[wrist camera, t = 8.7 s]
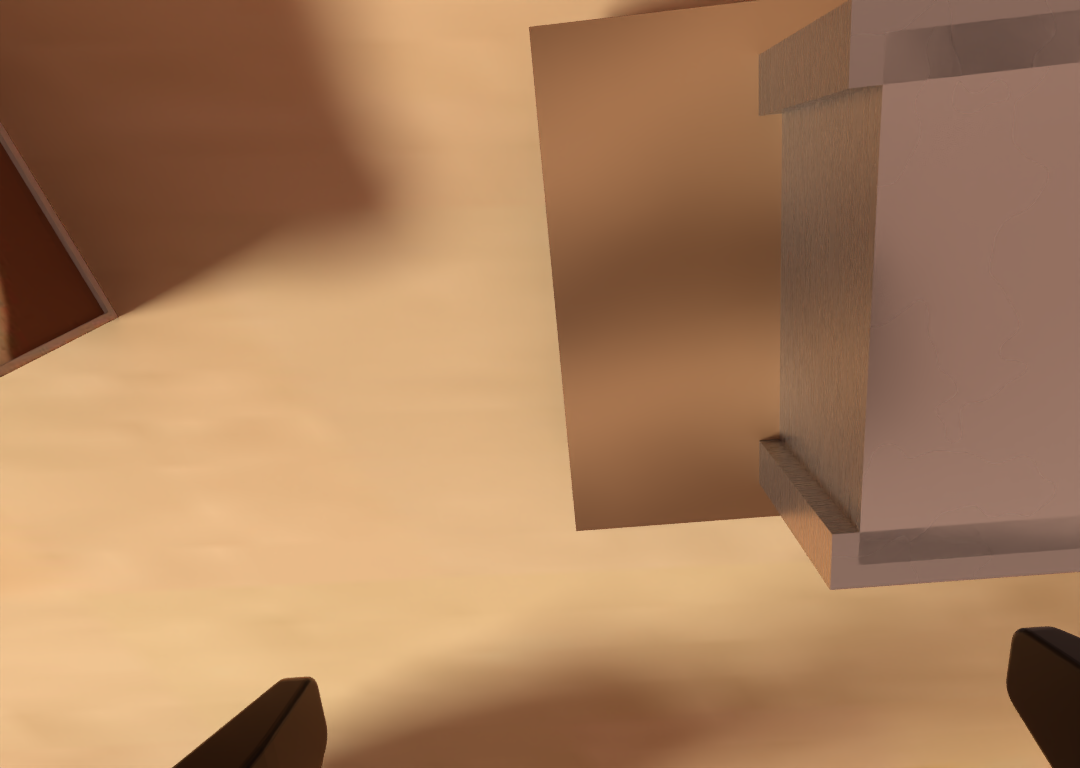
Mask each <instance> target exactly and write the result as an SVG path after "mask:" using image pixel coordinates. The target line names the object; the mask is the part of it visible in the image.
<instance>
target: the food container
mask: <svg viewBox="0 0 1080 768" xmlns="http://www.w3.org/2000/svg"><path fill="white" fill-rule="evenodd" d="M116 318H118V316H117V314H116V313H115V311H114V309H113V308H112V306H111V304H110V303H109V301H108V299H107V298H106V296H105V294H104V293H103V291H102V289H101V288H100V286H99V284H98V283H97V281H96V279H95V278H94V276H93V274H92V273H91V271H90V269H89V268H88V266H87V264H86V263H85V261H84V259H83V258H82V256H81V255H80V253H79V251H78V250H77V248H76V246H75V245H74V243H73V241H72V240H71V238H70V236H69V235H68V233H67V231H66V230H65V228H64V226H63V225H62V223H61V221H60V220H59V218H58V216H57V215H56V213H55V211H54V210H53V208H52V206H51V205H50V203H49V201H48V200H47V198H46V197H45V195H44V193H43V192H42V190H41V188H40V187H39V185H38V183H37V182H36V180H35V178H34V177H33V175H32V173H31V172H30V170H29V168H28V167H27V165H26V163H25V162H24V160H23V158H22V157H21V155H20V153H19V152H18V150H17V148H16V147H15V145H14V143H13V142H12V140H11V138H10V137H9V135H8V134H7V132H6V130H5V129H4V127H3V125H2V124H1V122H0V377H2V376H4V375H6V374H8V373H10V372H12V371H14V370H16V369H18V368H20V367H22V366H23V365H25V364H27V363H29V362H31V361H33V360H35V359H37V358H39V357H41V356H43V355H45V354H47V353H49V352H51V351H53V350H55V349H57V348H59V347H61V346H63V345H65V344H67V343H69V342H70V341H72V340H74V339H76V338H78V337H80V336H82V335H84V334H86V333H88V332H90V331H92V330H94V329H96V328H98V327H100V326H102V325H104V324H106V323H108V322H110V321H112V320H114V319H116Z"/></svg>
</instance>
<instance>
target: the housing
mask: <svg viewBox="0 0 1080 768" xmlns="http://www.w3.org/2000/svg"><path fill="white" fill-rule="evenodd" d="M774 114H782V195H781V314H780V433H779V439H771V440H759V484H760V485H761V487H762V488H763V490H764V491H765V493H766V494H767V496H768V497H769V499H770V500H771V502H772V503H773V505H774V506H775V508H776V509H777V511H778V512H779V514H780V515H781V517H782V518H783V520H784V521H785V523H786V524H787V526H788V527H789V529H790V530H791V532H792V533H793V535H794V536H795V538H796V539H797V541H798V542H799V544H800V545H801V547H802V548H803V550H804V551H805V553H806V554H807V556H808V557H809V559H810V560H811V562H812V563H813V565H814V566H815V568H816V569H817V571H818V572H819V574H820V575H821V577H822V578H823V580H824V581H825V583H826V584H827V586H828V587H829V589H830V590H835V589H848V588H862V587H876V586H890V585H903V584H917V583H931V582H944V581H958V580H972V579H986V578H999V577H1013V576H1027V575H1041V574H1054V573H1068V572H1080V0H848V1H847V2H845V3H843V4H842V5H840V6H838V7H837V8H835V9H833V10H832V11H830V12H829V13H827V14H825V15H824V16H822V17H820V18H819V19H817V20H815V21H814V22H812V23H810V24H809V25H807V26H806V27H804V28H802V29H801V30H799V31H797V32H796V33H794V34H792V35H791V36H789V37H787V38H786V39H784V40H783V41H781V42H779V43H778V44H776V45H774V46H773V47H771V48H769V49H768V50H766V51H765V52H763V53H761V54H760V55H759V116H765V115H774Z"/></svg>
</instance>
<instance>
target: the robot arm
mask: <svg viewBox="0 0 1080 768" xmlns="http://www.w3.org/2000/svg"><path fill="white" fill-rule="evenodd" d="M1006 684H1007V691H1008V694H1009V697H1010V699H1011V702H1012V703H1013V705H1014V707H1015V709H1016V710H1017V712H1018V713H1019V715H1020V717H1021V718H1022V720H1023V721H1024V723H1025V725H1026V726H1027V728H1028V730H1029V731H1030V733H1031V734H1032V736H1033V738H1034V739H1035V741H1036V742H1037V744H1038V746H1039V747H1040V749H1041V750H1042V752H1043V754H1044V755H1045V757H1046V759H1047V760H1048V762H1049V763H1050V765H1051V767H1052V768H1080V638H1079V637H1076V636H1074V635H1072V634H1069V633H1067V632H1065V631H1062V630H1060V629H1057V628H1055V627H1031V628H1021V629H1019V630H1017V631H1016V632H1015V633H1014V635H1013V637H1012V643H1011V650H1010V657H1009V664H1008V672H1007V679H1006ZM326 743H327V726H326V721H325V716H324V712H323V707H322V703H321V698H320V694H319V689H318V685H317V683H316V681H315V679H313V678H311V677H295V678H285V679H282V680H280V681H279V682H277V683H276V684H275V685H273V686H272V687H271V688H270V689H268V690H267V691H266V692H265V693H263V694H262V695H261V696H260V697H259V698H257V699H256V700H255V701H254V702H252V703H251V704H250V705H249V706H247V707H246V708H245V709H244V710H243V711H241V712H240V713H239V714H238V715H236V716H235V717H234V718H233V719H231V720H230V721H229V722H228V723H227V724H225V725H224V726H223V727H222V728H220V729H219V730H218V731H217V732H215V733H214V734H213V735H212V736H211V737H209V738H208V739H207V740H206V741H204V742H203V743H202V744H201V745H199V746H198V747H197V748H196V749H195V750H193V751H192V752H191V753H190V754H188V755H187V756H186V757H185V758H183V759H182V760H181V761H180V762H179V763H177V764H176V765H175V766H174V767H172V768H321V766H322V762H323V757H324V753H325V749H326Z"/></svg>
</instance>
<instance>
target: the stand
mask: <svg viewBox="0 0 1080 768" xmlns="http://www.w3.org/2000/svg"><path fill="white" fill-rule="evenodd" d="M847 1H848V0H755V1H747V2H738V3H730V4H721V5H713V6H704V7H696V8H687V9H678V10H670V11H661V12H653V13H644V14H636V15H627V16H619V17H610V18H602V19H593V20H585V21H576V22H568V23H559V24H551V25H542V26H534V27H529V31H530V42H531V53H532V63H533V74H534V85H535V95H536V106H537V117H538V127H539V138H540V149H541V159H542V170H543V181H544V191H545V202H546V213H547V223H548V234H549V245H550V255H551V266H552V276H553V287H554V298H555V308H556V319H557V330H558V340H559V351H560V362H561V372H562V383H563V394H564V404H565V415H566V426H567V436H568V447H569V458H570V468H571V479H572V490H573V500H574V511H575V522H576V531H583V530H596V529H609V528H622V527H635V526H648V525H662V524H675V523H688V522H701V521H714V520H728V519H741V518H754V517H767V516H780V514H779V512H778V511H777V509H776V508H775V506H774V505H773V503H772V502H771V500H770V499H769V497H768V496H767V494H766V493H765V491H764V490H763V488H762V487H761V485H760V484H759V440H771V439H779V433H780V314H781V195H782V114H774V115H765V116H759V55H760V54H761V53H763V52H765V51H766V50H768V49H769V48H771V47H773V46H774V45H776V44H778V43H779V42H781V41H783V40H784V39H786V38H787V37H789V36H791V35H792V34H794V33H796V32H797V31H799V30H801V29H802V28H804V27H806V26H807V25H809V24H810V23H812V22H814V21H815V20H817V19H819V18H820V17H822V16H824V15H825V14H827V13H829V12H830V11H832V10H833V9H835V8H837V7H838V6H840V5H842V4H843V3H845V2H847Z"/></svg>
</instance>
